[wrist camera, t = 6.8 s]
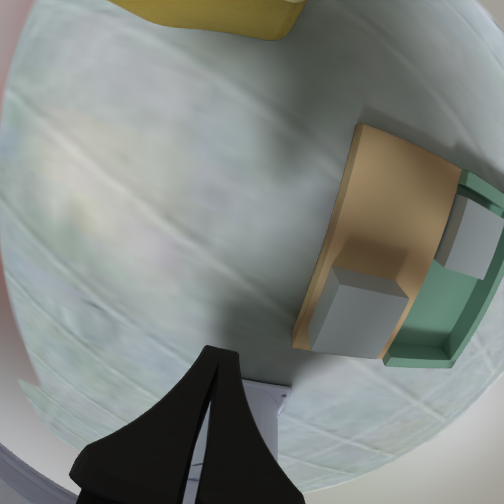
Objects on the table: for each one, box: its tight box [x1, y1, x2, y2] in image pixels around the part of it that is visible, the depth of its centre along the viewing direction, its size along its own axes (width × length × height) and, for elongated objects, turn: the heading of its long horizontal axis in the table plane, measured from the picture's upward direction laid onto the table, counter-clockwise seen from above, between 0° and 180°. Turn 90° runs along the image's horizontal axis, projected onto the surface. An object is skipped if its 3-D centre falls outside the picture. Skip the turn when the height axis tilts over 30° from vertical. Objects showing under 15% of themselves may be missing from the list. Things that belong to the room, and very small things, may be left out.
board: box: [291, 124, 462, 359], centre depth 17 cm, size 16×8×2 cm, turn 167°
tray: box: [382, 170, 504, 368], centre depth 17 cm, size 16×8×2 cm, turn 167°
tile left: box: [307, 266, 410, 359], centre depth 17 cm, size 5×5×2 cm
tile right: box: [433, 194, 504, 280], centre depth 15 cm, size 5×5×2 cm
